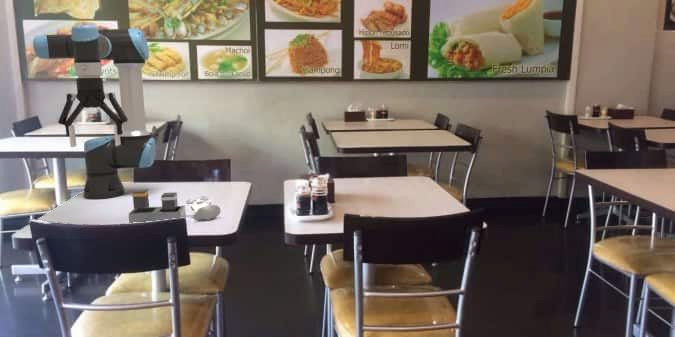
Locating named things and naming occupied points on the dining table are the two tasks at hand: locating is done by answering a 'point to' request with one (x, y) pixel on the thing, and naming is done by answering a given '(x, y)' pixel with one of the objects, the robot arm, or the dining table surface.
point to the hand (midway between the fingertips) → (95, 146)
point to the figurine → (204, 209)
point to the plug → (140, 198)
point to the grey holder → (159, 210)
